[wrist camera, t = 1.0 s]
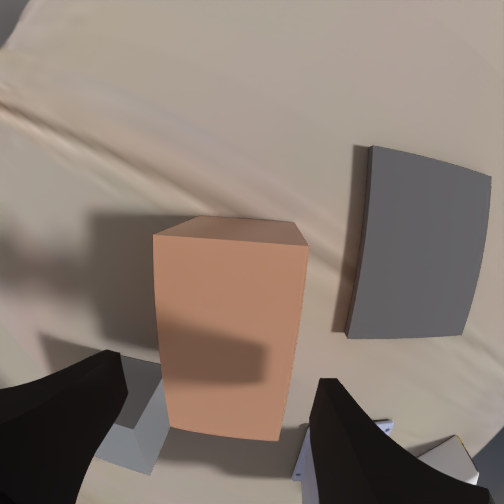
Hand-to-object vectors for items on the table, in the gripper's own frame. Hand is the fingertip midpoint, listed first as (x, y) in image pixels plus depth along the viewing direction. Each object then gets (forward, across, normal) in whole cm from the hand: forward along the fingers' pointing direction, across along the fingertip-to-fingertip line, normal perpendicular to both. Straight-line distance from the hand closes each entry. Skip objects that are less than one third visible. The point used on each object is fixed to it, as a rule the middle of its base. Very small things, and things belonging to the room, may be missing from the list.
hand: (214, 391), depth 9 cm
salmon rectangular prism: (+9, 0, 0) cm, 9 cm away
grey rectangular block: (+9, +8, +9) cm, 15 cm away
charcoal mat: (+9, -12, -4) cm, 15 cm away
